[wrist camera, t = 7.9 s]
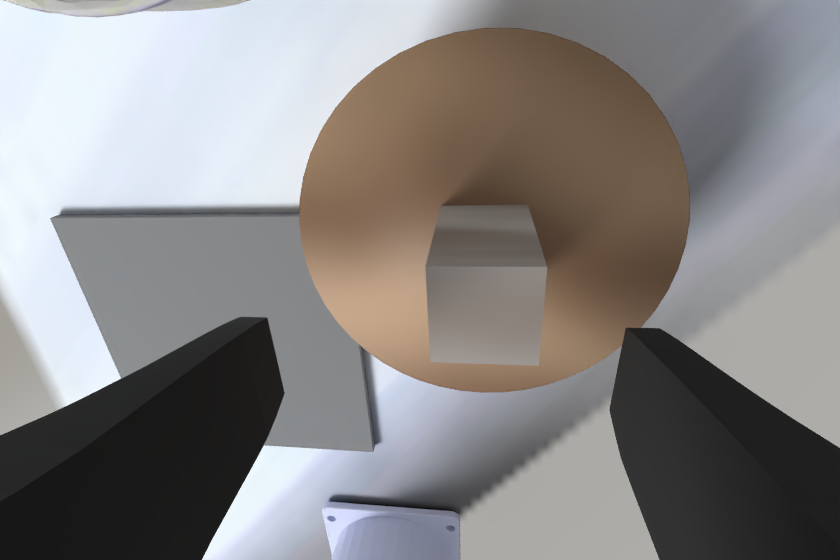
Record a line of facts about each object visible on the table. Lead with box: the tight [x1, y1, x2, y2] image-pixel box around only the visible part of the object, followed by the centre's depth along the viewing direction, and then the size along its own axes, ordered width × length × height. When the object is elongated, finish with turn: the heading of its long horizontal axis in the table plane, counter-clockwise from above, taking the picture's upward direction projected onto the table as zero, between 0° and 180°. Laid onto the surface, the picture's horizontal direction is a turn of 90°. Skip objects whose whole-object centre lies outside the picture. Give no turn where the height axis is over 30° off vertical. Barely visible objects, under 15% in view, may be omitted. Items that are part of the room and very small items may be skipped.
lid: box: [299, 28, 690, 392], centre depth 11 cm, size 11×11×5 cm
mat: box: [50, 213, 375, 452], centre depth 21 cm, size 13×13×1 cm
